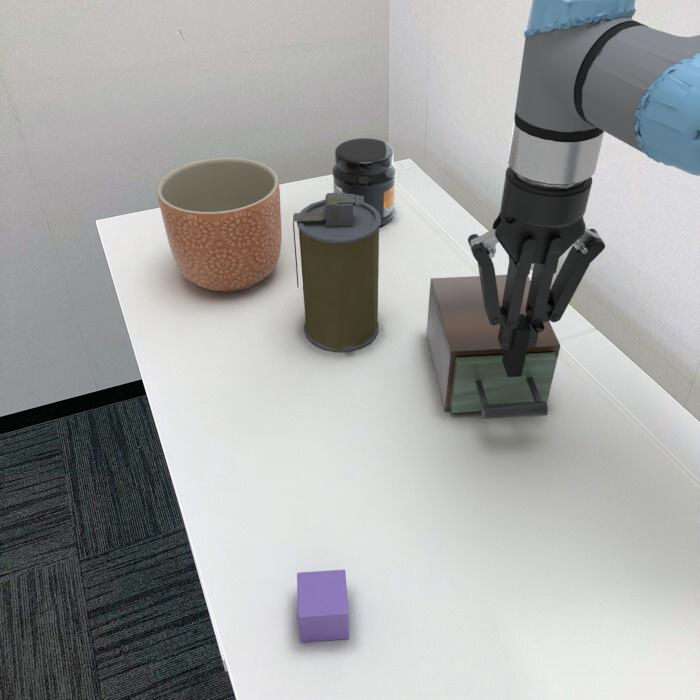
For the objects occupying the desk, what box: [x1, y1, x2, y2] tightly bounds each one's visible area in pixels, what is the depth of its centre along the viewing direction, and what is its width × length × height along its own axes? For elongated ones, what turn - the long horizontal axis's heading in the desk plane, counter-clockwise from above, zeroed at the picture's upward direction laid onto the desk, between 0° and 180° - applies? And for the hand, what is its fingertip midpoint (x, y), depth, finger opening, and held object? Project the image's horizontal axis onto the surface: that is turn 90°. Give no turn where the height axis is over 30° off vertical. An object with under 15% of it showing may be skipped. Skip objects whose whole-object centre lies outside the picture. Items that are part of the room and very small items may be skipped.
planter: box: [156, 156, 283, 293], centre depth 104 cm, size 17×17×15 cm
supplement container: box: [332, 137, 397, 226], centre depth 118 cm, size 10×10×12 cm
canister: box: [292, 192, 381, 352], centre depth 92 cm, size 11×10×20 cm
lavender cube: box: [296, 569, 350, 643], centre depth 64 cm, size 4×4×4 cm
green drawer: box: [450, 352, 558, 420], centre depth 85 cm, size 19×11×8 cm, turn 4°
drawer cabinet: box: [426, 274, 561, 412], centre depth 88 cm, size 15×13×10 cm
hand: (511, 368), depth 78 cm, fingers closed
